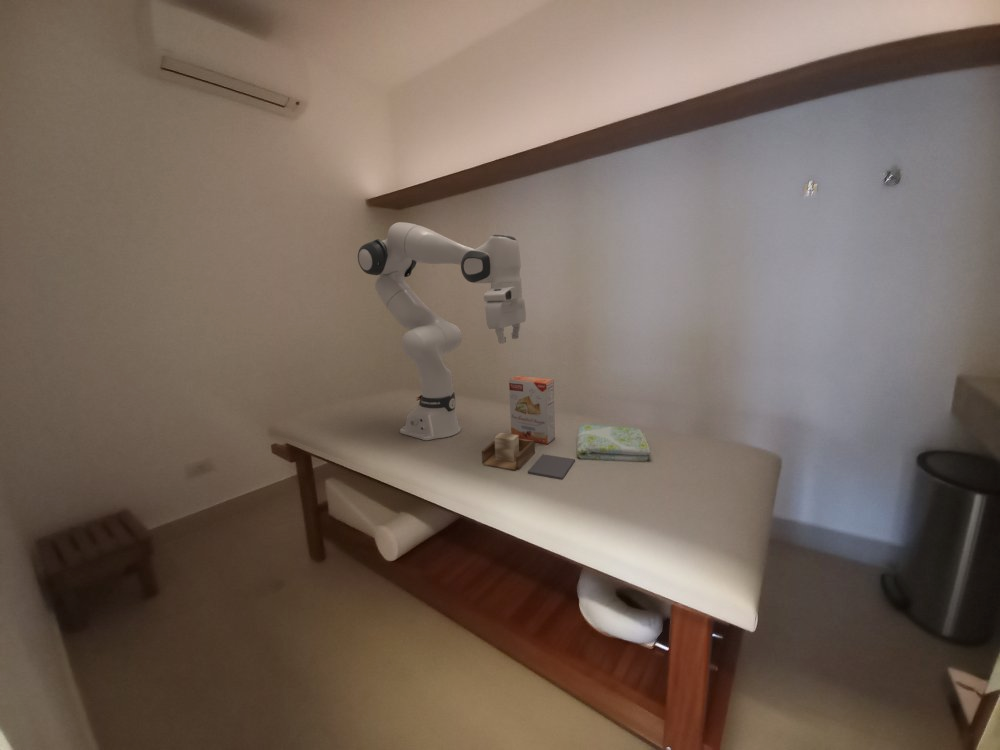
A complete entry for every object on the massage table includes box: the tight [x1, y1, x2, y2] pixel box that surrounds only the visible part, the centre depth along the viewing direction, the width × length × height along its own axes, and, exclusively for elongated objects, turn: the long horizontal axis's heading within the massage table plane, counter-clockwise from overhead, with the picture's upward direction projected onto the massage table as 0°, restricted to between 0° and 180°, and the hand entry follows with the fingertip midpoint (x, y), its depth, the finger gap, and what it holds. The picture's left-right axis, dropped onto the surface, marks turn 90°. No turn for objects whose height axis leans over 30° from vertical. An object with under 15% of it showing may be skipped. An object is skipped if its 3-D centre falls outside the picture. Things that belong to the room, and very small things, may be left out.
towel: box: [576, 423, 651, 462], centre depth 123 cm, size 18×21×5 cm
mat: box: [527, 454, 576, 480], centre depth 113 cm, size 10×12×1 cm
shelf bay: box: [481, 438, 536, 472], centre depth 120 cm, size 12×14×4 cm
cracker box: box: [508, 375, 556, 445], centre depth 132 cm, size 14×6×21 cm, turn 57°
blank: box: [494, 432, 519, 462], centre depth 118 cm, size 6×4×7 cm, turn 64°
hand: (509, 340), depth 118 cm, fingers open, 8 cm apart
